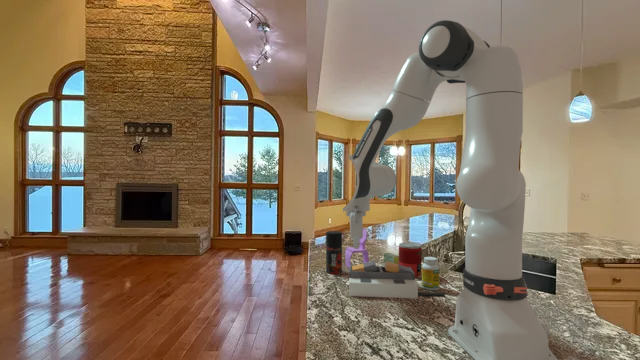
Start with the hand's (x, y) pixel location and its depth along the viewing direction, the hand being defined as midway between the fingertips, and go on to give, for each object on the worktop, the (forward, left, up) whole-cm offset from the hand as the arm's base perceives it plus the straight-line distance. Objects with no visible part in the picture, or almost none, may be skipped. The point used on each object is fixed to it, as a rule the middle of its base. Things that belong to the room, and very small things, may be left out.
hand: (356, 248), depth 102 cm
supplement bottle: (+2, -24, -13) cm, 27 cm away
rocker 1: (0, -13, -7) cm, 15 cm away
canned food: (+16, -20, -13) cm, 29 cm away
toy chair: (+24, -1, -13) cm, 27 cm away
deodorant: (+16, +8, -13) cm, 22 cm away
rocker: (0, -3, -7) cm, 8 cm away
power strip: (-2, -12, -13) cm, 18 cm away
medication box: (+29, -16, -13) cm, 36 cm away
